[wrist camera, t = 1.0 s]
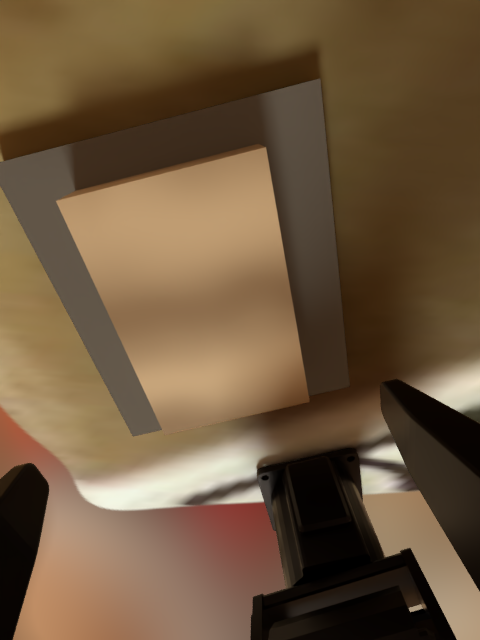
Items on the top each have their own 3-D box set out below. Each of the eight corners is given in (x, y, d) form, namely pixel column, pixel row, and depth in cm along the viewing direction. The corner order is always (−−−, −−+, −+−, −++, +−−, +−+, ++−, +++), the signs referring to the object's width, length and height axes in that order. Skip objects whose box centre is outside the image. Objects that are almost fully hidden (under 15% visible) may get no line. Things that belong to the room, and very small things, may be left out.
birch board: (299, 375, 19) (309, 402, 17) (168, 406, 19) (164, 435, 17) (258, 143, 13) (265, 147, 11) (75, 190, 13) (55, 200, 12)
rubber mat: (343, 375, 20) (350, 386, 19) (136, 423, 20) (132, 436, 20) (312, 81, 13) (320, 78, 12) (3, 162, 14) (-11, 165, 13)
